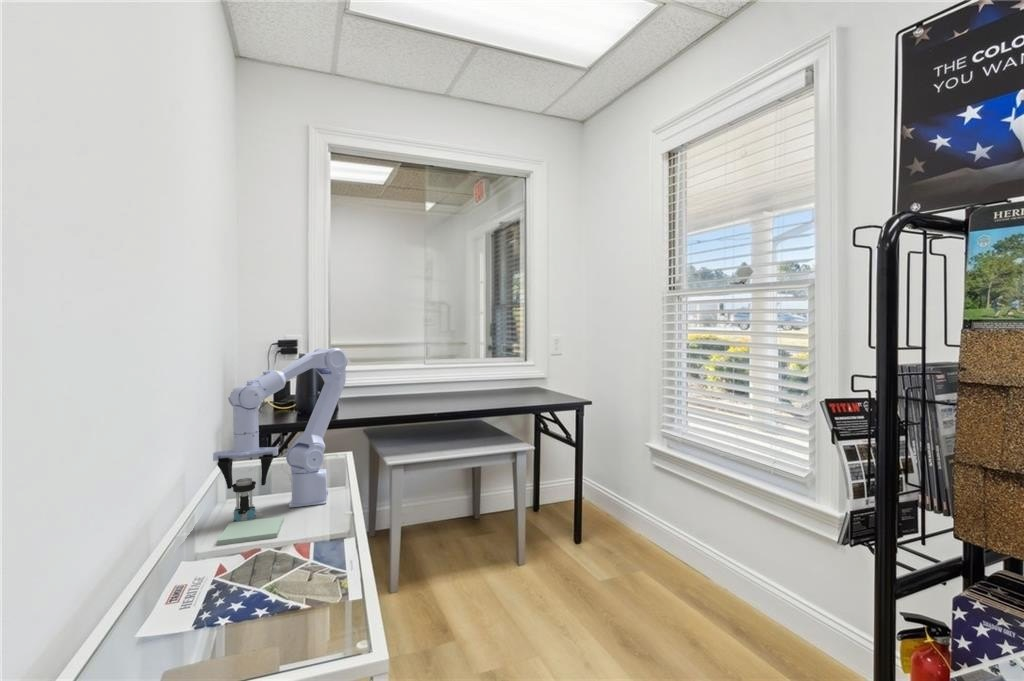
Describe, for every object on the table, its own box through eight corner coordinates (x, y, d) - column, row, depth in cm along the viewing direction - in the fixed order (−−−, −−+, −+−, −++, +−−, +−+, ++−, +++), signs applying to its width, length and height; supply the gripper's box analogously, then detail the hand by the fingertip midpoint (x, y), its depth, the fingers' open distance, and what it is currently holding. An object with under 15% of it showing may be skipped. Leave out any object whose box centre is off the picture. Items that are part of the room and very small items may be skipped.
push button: (262, 513, 129) (261, 475, 129) (262, 519, 124) (261, 480, 124) (233, 518, 126) (232, 479, 126) (231, 524, 121) (231, 483, 122)
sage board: (283, 520, 123) (283, 516, 123) (277, 537, 112) (277, 532, 112) (229, 527, 120) (229, 522, 120) (217, 545, 108) (217, 540, 108)
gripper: (209, 437, 120) (210, 493, 119) (275, 432, 124) (275, 486, 124) (217, 432, 126) (217, 486, 126) (279, 428, 131) (279, 480, 131)
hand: (246, 486), depth 125 cm, fingers open, 7 cm apart
